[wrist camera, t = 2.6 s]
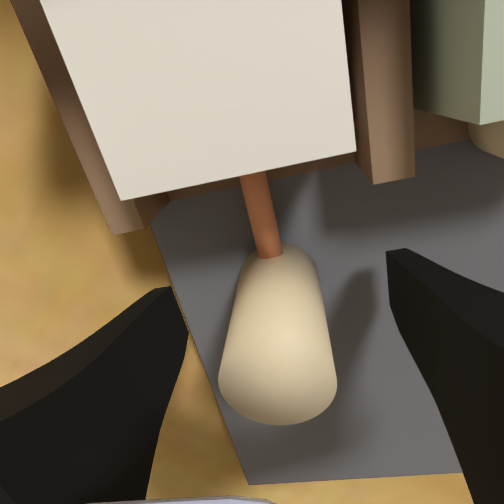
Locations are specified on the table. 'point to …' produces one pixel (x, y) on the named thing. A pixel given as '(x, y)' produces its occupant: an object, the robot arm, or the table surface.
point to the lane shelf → (366, 157)
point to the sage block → (461, 65)
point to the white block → (226, 152)
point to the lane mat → (344, 302)
